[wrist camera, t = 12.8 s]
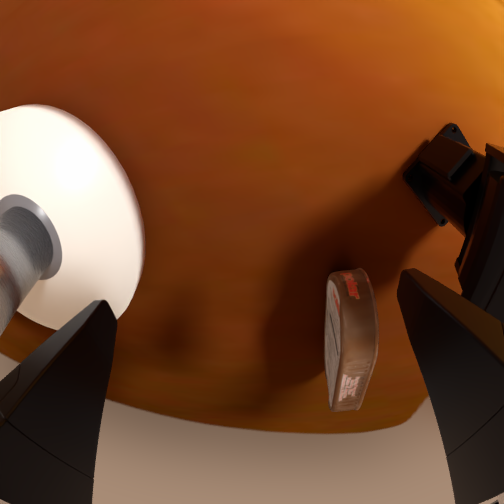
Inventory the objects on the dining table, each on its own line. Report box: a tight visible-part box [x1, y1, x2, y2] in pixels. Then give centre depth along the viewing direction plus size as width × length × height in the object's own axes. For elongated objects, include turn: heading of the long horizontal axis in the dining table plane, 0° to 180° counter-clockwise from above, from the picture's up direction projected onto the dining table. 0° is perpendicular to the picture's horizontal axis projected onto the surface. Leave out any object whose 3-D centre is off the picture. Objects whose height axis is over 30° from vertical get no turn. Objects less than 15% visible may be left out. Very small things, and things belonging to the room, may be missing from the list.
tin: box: [324, 268, 379, 412], centre depth 23 cm, size 15×3×8 cm, turn 8°
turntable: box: [0, 104, 146, 330], centre depth 19 cm, size 21×21×2 cm
